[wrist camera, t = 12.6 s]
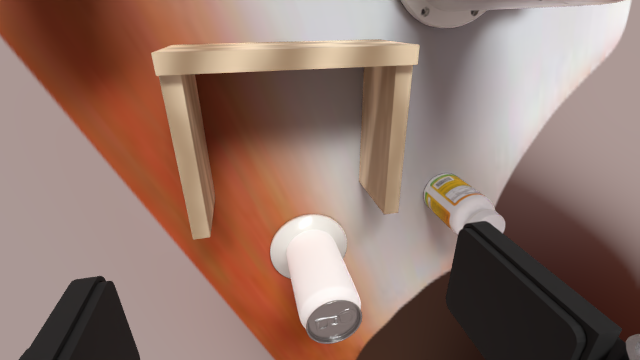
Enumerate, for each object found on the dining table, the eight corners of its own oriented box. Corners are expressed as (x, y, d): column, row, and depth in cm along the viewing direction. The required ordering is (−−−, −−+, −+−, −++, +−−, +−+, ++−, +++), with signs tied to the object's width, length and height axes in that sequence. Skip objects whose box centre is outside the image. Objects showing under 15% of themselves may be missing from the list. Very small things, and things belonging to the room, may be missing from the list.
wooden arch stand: (378, 39, 35) (419, 44, 27) (370, 180, 42) (401, 216, 34) (172, 44, 31) (151, 52, 23) (201, 198, 38) (192, 244, 30)
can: (337, 261, 45) (368, 336, 35) (290, 274, 44) (307, 354, 34) (331, 222, 42) (363, 289, 32) (281, 234, 41) (296, 308, 31)
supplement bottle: (446, 212, 46) (493, 255, 38) (415, 203, 45) (457, 246, 36) (466, 178, 45) (521, 215, 36) (434, 167, 43) (484, 203, 34)
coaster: (346, 209, 43) (347, 211, 42) (345, 271, 47) (346, 274, 46) (267, 219, 41) (267, 221, 40) (272, 283, 45) (273, 286, 44)
